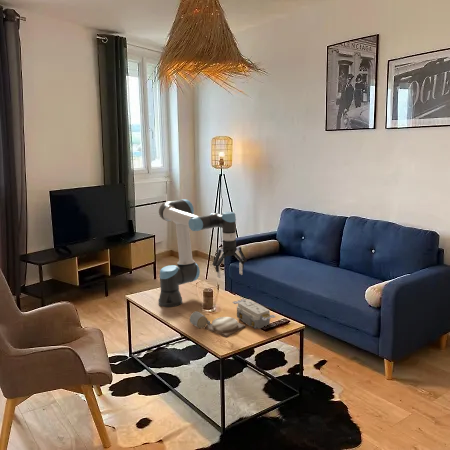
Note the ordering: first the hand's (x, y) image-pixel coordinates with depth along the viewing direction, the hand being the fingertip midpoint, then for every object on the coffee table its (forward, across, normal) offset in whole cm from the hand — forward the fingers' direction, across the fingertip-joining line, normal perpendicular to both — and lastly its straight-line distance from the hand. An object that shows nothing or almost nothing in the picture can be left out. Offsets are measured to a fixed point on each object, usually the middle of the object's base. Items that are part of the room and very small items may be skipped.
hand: (230, 275), depth 257 cm
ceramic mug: (+26, -19, -3) cm, 32 cm away
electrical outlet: (+26, +9, -12) cm, 30 cm away
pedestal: (+26, -8, -12) cm, 29 cm away
